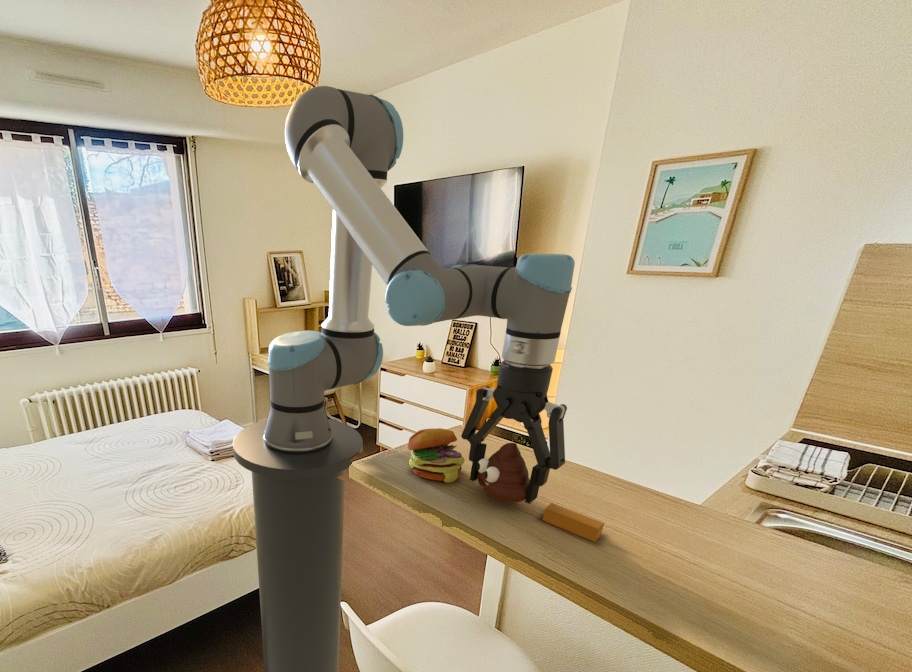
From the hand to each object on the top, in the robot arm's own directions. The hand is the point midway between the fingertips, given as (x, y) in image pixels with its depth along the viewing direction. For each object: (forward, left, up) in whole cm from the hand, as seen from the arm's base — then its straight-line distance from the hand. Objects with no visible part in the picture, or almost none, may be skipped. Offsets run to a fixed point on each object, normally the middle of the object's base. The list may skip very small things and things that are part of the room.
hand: (501, 488), depth 81 cm
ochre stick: (+12, 0, -2) cm, 12 cm away
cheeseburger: (-14, 0, -2) cm, 14 cm away
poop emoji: (0, 0, 0) cm, 0 cm away
